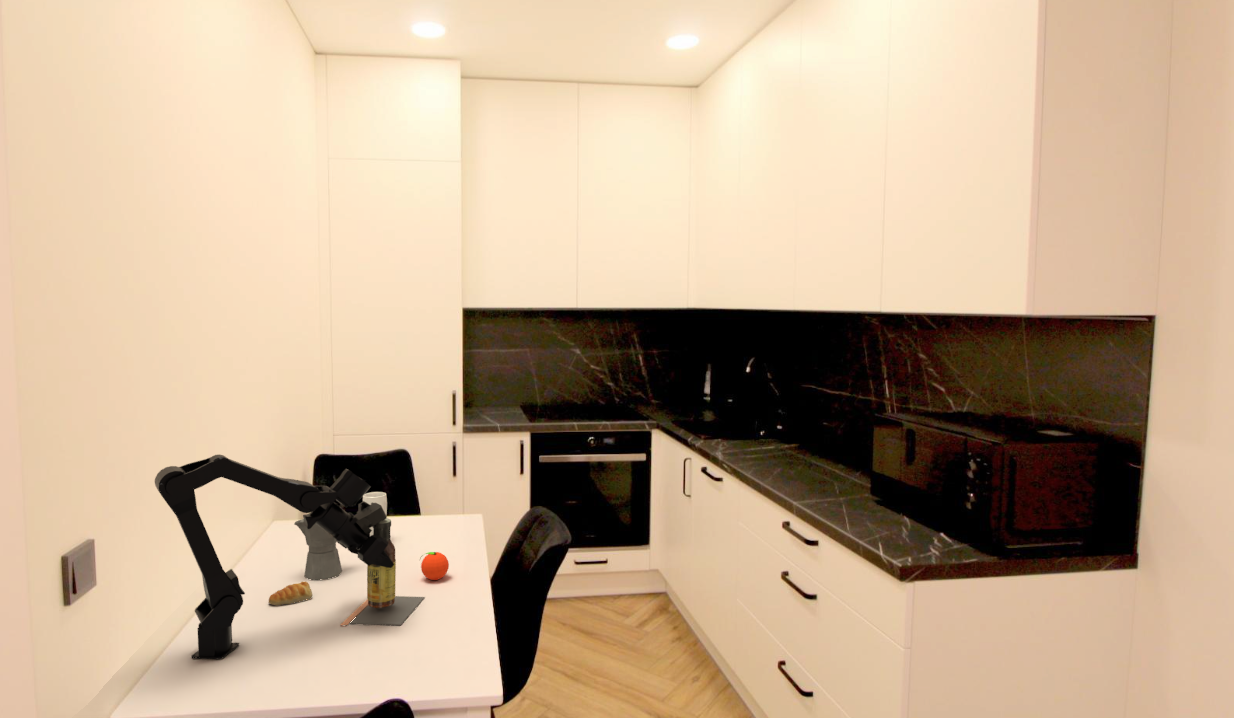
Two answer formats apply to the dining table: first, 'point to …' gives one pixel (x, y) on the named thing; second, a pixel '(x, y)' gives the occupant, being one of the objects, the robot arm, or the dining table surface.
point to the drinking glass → (376, 501)
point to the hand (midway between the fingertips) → (387, 562)
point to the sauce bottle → (382, 572)
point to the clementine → (434, 565)
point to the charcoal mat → (389, 612)
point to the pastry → (291, 594)
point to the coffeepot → (320, 553)
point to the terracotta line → (355, 613)
